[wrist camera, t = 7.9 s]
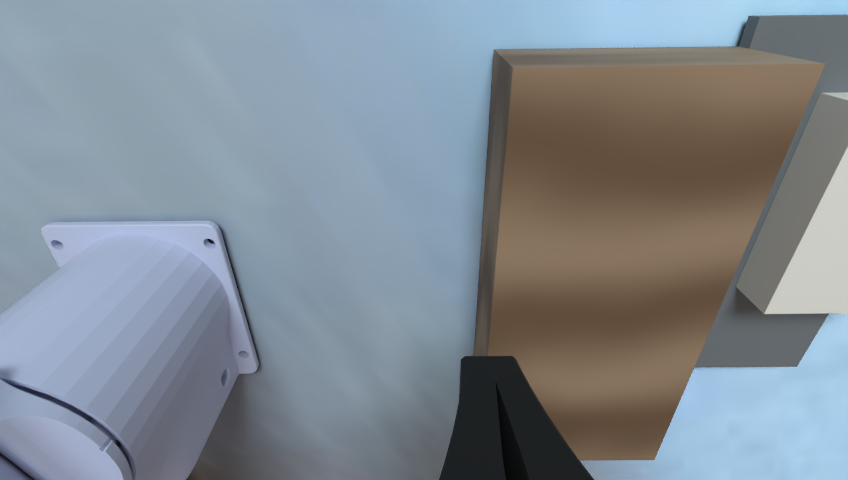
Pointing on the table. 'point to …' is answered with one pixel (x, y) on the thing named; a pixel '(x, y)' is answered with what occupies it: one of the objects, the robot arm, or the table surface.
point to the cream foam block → (807, 224)
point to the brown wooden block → (623, 221)
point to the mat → (738, 317)
